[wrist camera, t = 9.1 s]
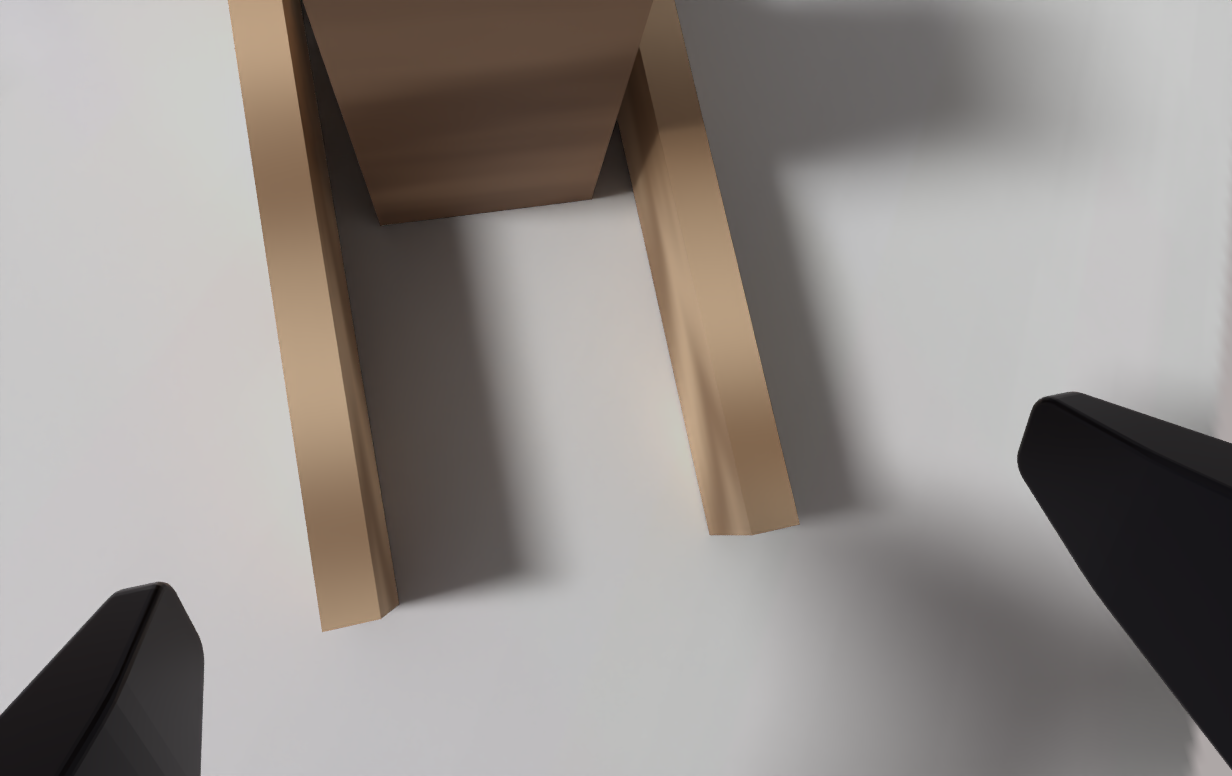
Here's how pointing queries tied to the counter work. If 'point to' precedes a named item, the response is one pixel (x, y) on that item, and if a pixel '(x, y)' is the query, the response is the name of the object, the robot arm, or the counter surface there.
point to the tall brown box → (477, 97)
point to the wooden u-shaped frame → (324, 332)
